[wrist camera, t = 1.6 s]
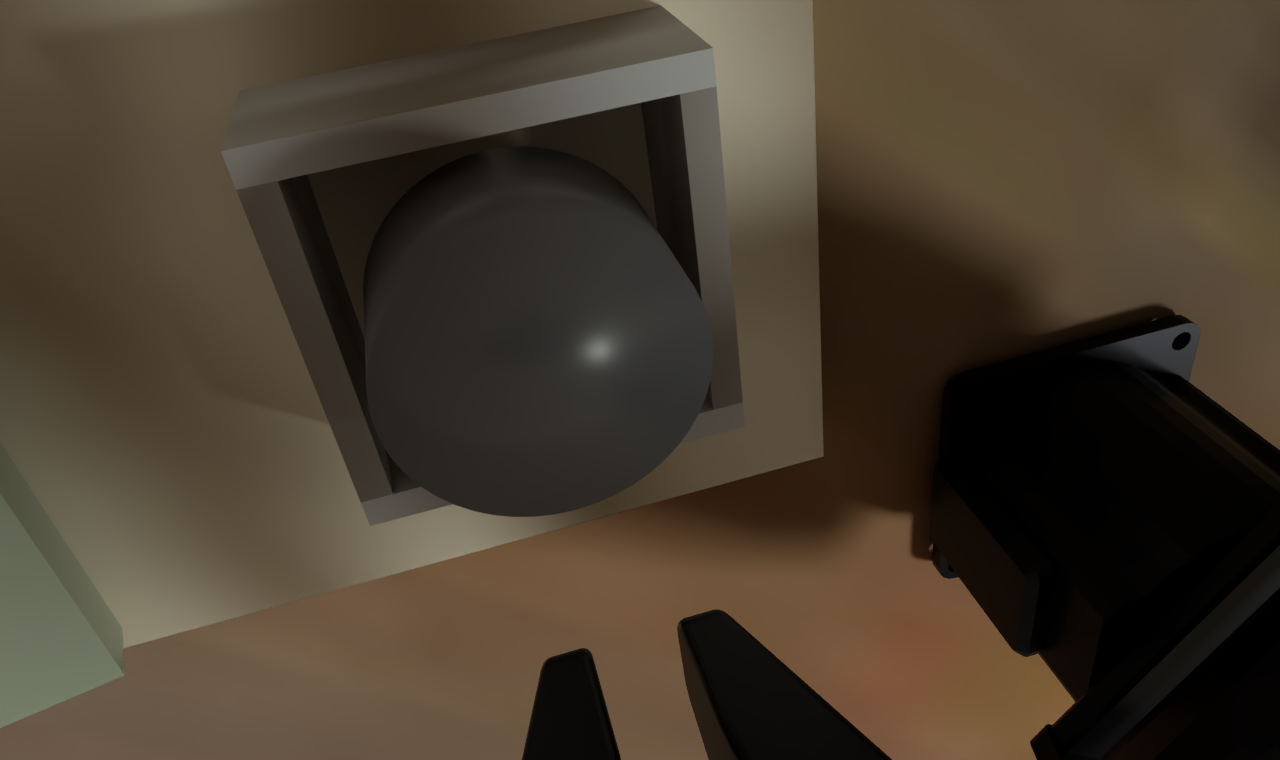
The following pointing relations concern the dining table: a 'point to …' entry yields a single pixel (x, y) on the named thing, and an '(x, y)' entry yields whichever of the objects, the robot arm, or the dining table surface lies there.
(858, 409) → the dining table surface
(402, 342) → the black button
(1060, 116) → the dining table surface
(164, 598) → the control panel
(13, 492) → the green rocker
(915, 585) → the dining table surface
